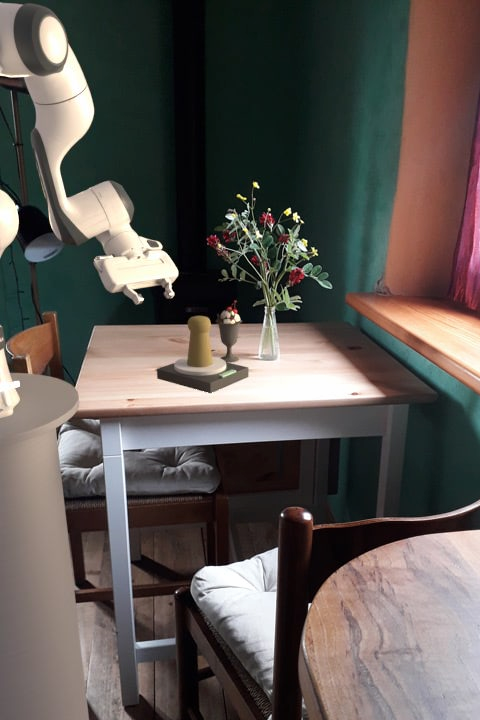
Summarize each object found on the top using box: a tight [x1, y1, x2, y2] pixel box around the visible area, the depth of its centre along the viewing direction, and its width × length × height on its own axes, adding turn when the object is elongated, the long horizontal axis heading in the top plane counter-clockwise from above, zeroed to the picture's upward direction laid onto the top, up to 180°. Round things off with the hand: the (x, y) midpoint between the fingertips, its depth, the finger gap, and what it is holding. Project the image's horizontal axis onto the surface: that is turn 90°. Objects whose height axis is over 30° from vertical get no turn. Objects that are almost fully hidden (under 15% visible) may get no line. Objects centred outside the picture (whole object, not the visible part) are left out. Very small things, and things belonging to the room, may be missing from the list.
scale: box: [156, 356, 250, 394], centre depth 143 cm, size 14×16×3 cm
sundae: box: [215, 300, 243, 363], centre depth 155 cm, size 7×7×15 cm
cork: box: [187, 315, 213, 367], centre depth 141 cm, size 6×6×11 cm
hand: (155, 299), depth 145 cm, fingers open, 8 cm apart
